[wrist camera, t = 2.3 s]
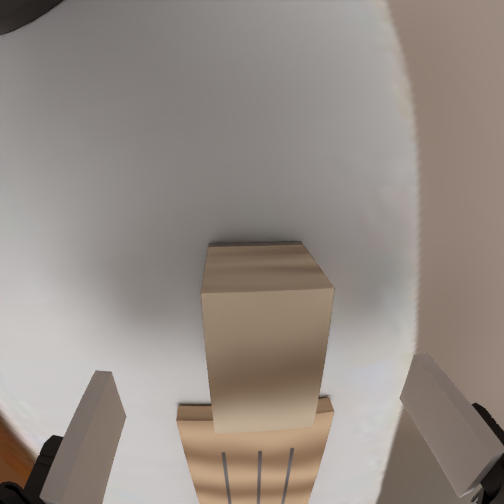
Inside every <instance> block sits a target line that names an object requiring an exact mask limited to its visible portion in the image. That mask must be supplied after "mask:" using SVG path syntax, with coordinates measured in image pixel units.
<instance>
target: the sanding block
mask: <svg viewBox="0 0 504 504" xmlns="http://www.w3.org/2000/svg"><path fill="white" fill-rule="evenodd" d="M334 289H335V288H334V287H333V285H332V284H331V282H330V281H329V280H328V278H327V277H326V275H325V274H324V273H323V271H322V270H321V268H320V267H319V266H318V264H317V263H316V261H315V260H314V259H313V257H312V256H311V255H310V253H309V252H308V250H307V249H306V248H305V246H304V245H303V244H302V242H301V241H299V242H252V243H211V244H209V246H208V251H207V257H206V263H205V270H204V276H203V282H202V288H201V303H202V316H203V328H204V339H205V350H206V360H207V370H208V379H209V388H210V397H211V406H212V414H213V422H214V430H215V433H240V432H260V431H273V430H285V429H295V428H304V427H312V426H313V424H314V419H315V414H316V409H317V404H318V398H319V393H320V387H321V381H322V375H323V369H324V363H325V357H326V350H327V343H328V336H329V329H330V322H331V314H332V306H333V297H334Z"/></svg>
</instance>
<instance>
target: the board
mask: <svg viewBox="0 0 504 504" xmlns="http://www.w3.org/2000/svg"><path fill="white" fill-rule="evenodd" d="M333 415H334V409H333V407H332V404H331V401H330V399H329V398H322V399H318V404H317V409H316V414H315V419H314V424H313V426H312V427H304V428H295V429H285V430H273V431H260V432H240V433H215V430H214V422H213V414H212V406H178V412H177V419H176V421H177V425H178V429H179V433H180V437H181V441H182V445H183V449H184V452H185V456H186V460H187V463H188V467H189V470H190V474H191V477H192V480H193V484H194V487H195V490H196V493H197V496H198V500H199V503H200V504H308V501H309V498H310V495H311V492H312V489H313V486H314V482H315V479H316V476H317V473H318V469H319V466H320V463H321V459H322V456H323V452H324V449H325V445H326V442H327V438H328V434H329V430H330V427H331V423H332V419H333Z"/></svg>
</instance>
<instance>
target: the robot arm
mask: <svg viewBox="0 0 504 504" xmlns="http://www.w3.org/2000/svg"><path fill="white" fill-rule="evenodd" d="M60 1H62V0H0V34H4V33H7V32H9V31H12V30H14V29H17V28H19V27H21V26H23V25H25V24H27V23H28V22H30V21H32V20H34V19H35V18H37V17H39V16H40V15H42V14H43V13H45V12H46V11H48V10H49V9H51V8H52V7H53V6H55V5H56V4H58V3H59V2H60ZM400 400H401V402H402V403H403V405H404V406H405V408H406V410H407V411H408V413H409V415H410V416H411V418H412V419H413V421H414V423H415V424H416V426H417V428H418V429H419V431H420V433H421V434H422V436H423V437H424V439H425V441H426V442H427V444H428V446H429V447H430V449H431V451H432V453H433V454H434V456H435V458H436V459H437V461H438V463H439V464H440V466H441V468H442V470H443V471H444V473H445V475H446V476H447V478H448V480H449V482H450V483H451V485H452V487H453V489H454V491H455V492H456V494H457V496H458V498H460V497H462V496H464V495H466V494H468V493H470V492H472V491H473V490H474V489H475V488H476V487H477V486H478V485H479V483H481V485H482V488H481V489H480V490H479V492H478V493H477V494H476V495H475V496H474V497H473V498H472V500H471V502H474V501H475V499H476V498H477V497H478V496H479V497H478V501H477V502H476V503H477V504H504V431H503V430H502V429H501V428H500V426H499V425H498V424H496V421H495V420H494V419H493V418H491V415H490V414H489V413H488V411H487V410H486V409H485V408H484V407H482V406H480V405H479V404H477V403H474V404H471V403H470V402H469V401H468V400H467V399H466V397H465V396H464V395H463V394H462V393H461V392H460V390H459V389H458V388H457V386H456V385H455V384H454V383H453V382H452V381H451V379H450V378H449V377H448V376H447V375H446V373H445V372H444V371H443V370H442V369H441V368H440V367H439V365H438V364H437V363H436V362H435V361H434V359H433V358H432V357H431V356H430V355H429V354H428V353H427V352H425V353H420V354H415V355H414V356H413V359H412V363H411V366H410V369H409V372H408V375H407V378H406V381H405V384H404V387H403V390H402V393H401V396H400ZM125 419H126V414H125V411H124V409H123V406H122V403H121V400H120V397H119V394H118V391H117V388H116V384H115V381H114V378H113V375H112V372H108V371H95V373H94V375H93V376H92V378H91V380H90V382H89V385H88V387H87V389H86V391H85V393H84V395H83V397H82V399H81V401H80V403H79V405H78V407H77V409H76V412H75V414H74V416H73V418H72V420H71V422H70V424H69V427H68V429H67V431H66V433H65V436H64V437H60V436H56V435H52V436H51V437H50V438H49V439H48V440H47V441H46V442H45V443H44V445H43V447H42V449H41V451H40V455H39V456H38V458H37V460H36V464H34V467H33V469H32V471H31V473H30V476H29V478H28V480H27V483H26V485H25V487H24V490H23V489H22V487H20V486H19V485H18V484H16V483H13V482H10V481H9V482H3V483H1V484H0V504H102V502H103V498H104V494H105V490H106V486H107V482H108V479H109V475H110V471H111V467H112V464H113V460H114V457H115V453H116V449H117V446H118V443H119V439H120V436H121V432H122V429H123V426H124V422H125Z"/></svg>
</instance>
